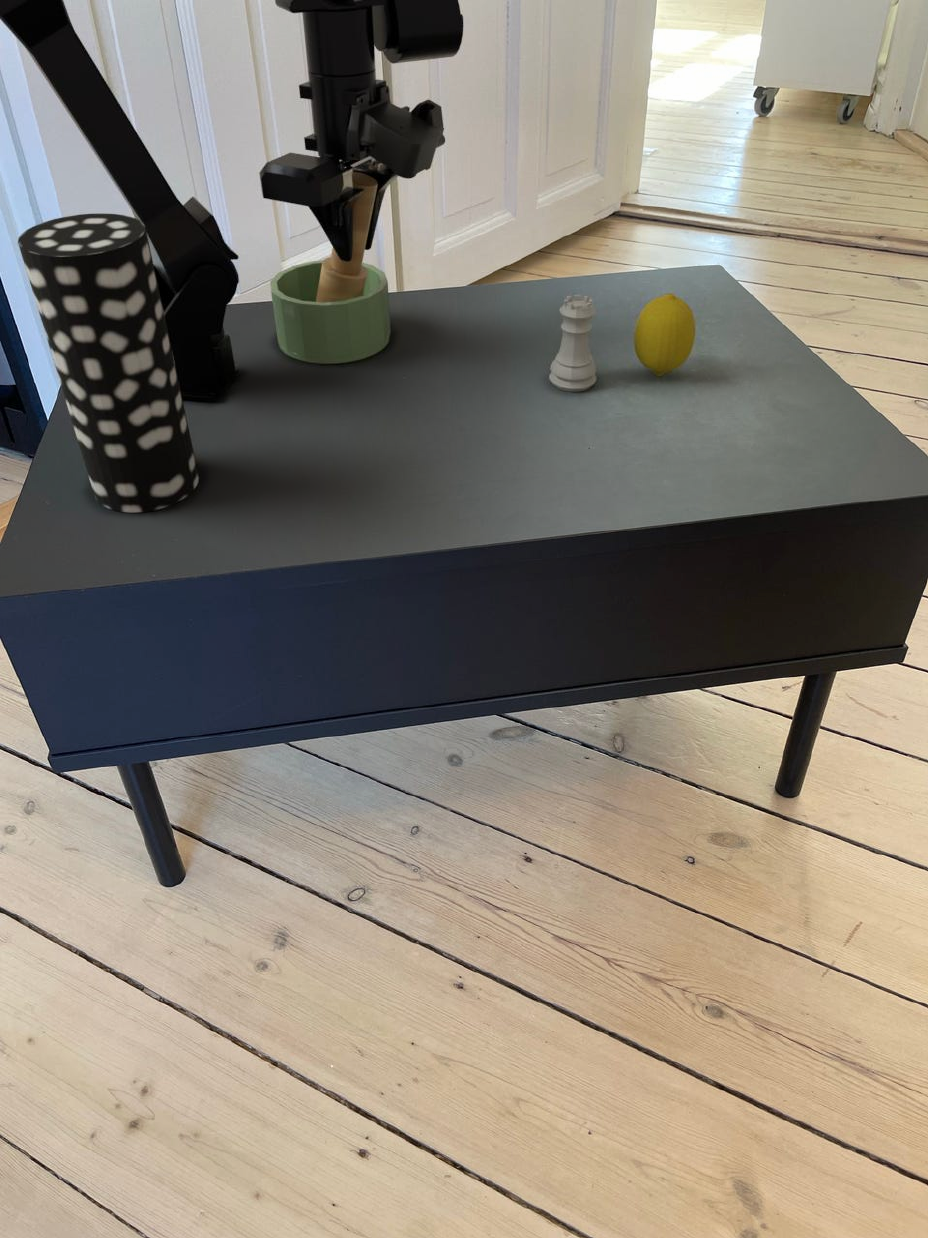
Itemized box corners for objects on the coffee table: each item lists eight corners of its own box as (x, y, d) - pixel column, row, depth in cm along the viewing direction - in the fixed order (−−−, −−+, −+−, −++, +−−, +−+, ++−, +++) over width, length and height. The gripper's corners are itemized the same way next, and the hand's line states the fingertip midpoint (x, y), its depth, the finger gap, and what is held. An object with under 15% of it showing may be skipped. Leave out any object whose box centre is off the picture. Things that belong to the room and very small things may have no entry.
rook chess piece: (593, 395, 90) (601, 312, 85) (545, 391, 91) (550, 308, 85) (598, 373, 93) (605, 292, 88) (552, 369, 94) (556, 288, 89)
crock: (262, 358, 96) (253, 299, 92) (299, 311, 105) (292, 256, 101) (373, 368, 94) (369, 308, 90) (401, 320, 103) (399, 263, 99)
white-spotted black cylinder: (111, 456, 82) (44, 212, 69) (209, 457, 82) (159, 213, 69) (79, 512, 76) (-3, 256, 63) (184, 513, 76) (125, 256, 63)
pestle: (309, 306, 94) (330, 177, 86) (324, 289, 98) (346, 163, 89) (351, 321, 94) (377, 194, 86) (365, 304, 98) (391, 180, 89)
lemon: (623, 382, 92) (632, 300, 87) (638, 358, 96) (647, 278, 90) (681, 393, 90) (694, 309, 85) (693, 367, 94) (706, 286, 89)
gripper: (362, 104, 73) (375, 306, 83) (477, 57, 85) (476, 237, 95) (243, 88, 77) (269, 282, 87) (370, 45, 89) (380, 220, 99)
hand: (355, 254), depth 92 cm, fingers closed on pestle, 3 cm apart
